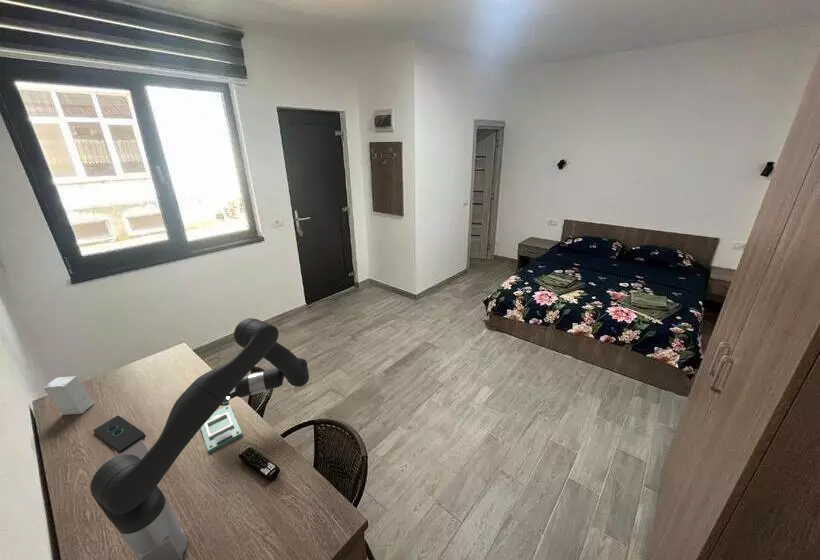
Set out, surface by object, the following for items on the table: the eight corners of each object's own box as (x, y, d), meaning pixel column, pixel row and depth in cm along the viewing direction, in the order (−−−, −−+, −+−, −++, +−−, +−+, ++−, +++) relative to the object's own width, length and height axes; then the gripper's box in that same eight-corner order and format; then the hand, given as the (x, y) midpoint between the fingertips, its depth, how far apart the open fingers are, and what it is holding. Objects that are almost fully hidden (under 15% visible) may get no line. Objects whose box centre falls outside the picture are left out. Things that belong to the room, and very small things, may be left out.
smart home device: (118, 414, 126) (145, 433, 117) (120, 417, 126) (147, 436, 118) (91, 430, 119) (118, 451, 110) (93, 433, 120) (120, 454, 111)
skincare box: (94, 403, 133) (78, 375, 127) (81, 415, 128) (64, 386, 122) (74, 404, 133) (57, 376, 127) (60, 415, 128) (41, 387, 122)
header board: (242, 434, 117) (241, 430, 116) (208, 453, 110) (206, 448, 110) (230, 406, 129) (228, 402, 129) (199, 421, 123) (197, 417, 122)
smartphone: (136, 431, 119) (150, 452, 111) (137, 433, 120) (151, 454, 111) (111, 445, 114) (124, 468, 105) (112, 447, 114) (125, 470, 106)
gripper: (251, 364, 122) (199, 376, 117) (247, 388, 110) (190, 403, 105) (255, 379, 125) (206, 392, 120) (253, 405, 113) (197, 420, 108)
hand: (199, 397), depth 113 cm, fingers closed on rook chess piece, 3 cm apart
